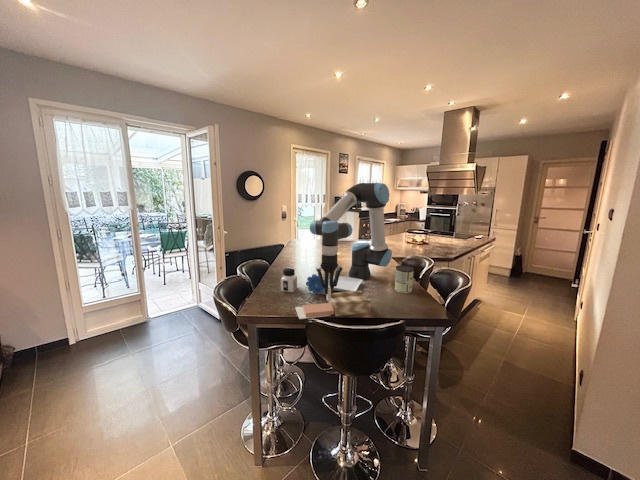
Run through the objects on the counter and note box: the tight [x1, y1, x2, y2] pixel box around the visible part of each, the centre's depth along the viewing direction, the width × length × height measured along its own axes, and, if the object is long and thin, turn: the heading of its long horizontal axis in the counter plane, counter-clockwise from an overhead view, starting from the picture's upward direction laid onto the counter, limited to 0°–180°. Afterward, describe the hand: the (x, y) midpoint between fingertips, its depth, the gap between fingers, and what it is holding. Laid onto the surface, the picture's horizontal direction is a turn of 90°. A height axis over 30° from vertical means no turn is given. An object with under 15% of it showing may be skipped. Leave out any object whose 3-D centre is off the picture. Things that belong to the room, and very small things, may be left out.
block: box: [302, 302, 335, 317], centre depth 129 cm, size 14×9×2 cm, turn 103°
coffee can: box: [394, 265, 415, 294], centre depth 157 cm, size 10×10×14 cm
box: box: [328, 290, 372, 317], centre depth 132 cm, size 18×12×7 cm, turn 105°
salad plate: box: [328, 274, 364, 293], centre depth 162 cm, size 21×21×3 cm
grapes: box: [305, 273, 325, 295], centre depth 149 cm, size 12×7×12 cm, turn 99°
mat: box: [294, 306, 331, 320], centre depth 129 cm, size 15×12×1 cm
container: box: [280, 267, 298, 293], centre depth 156 cm, size 8×8×13 cm
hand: (328, 299), depth 129 cm, fingers closed
